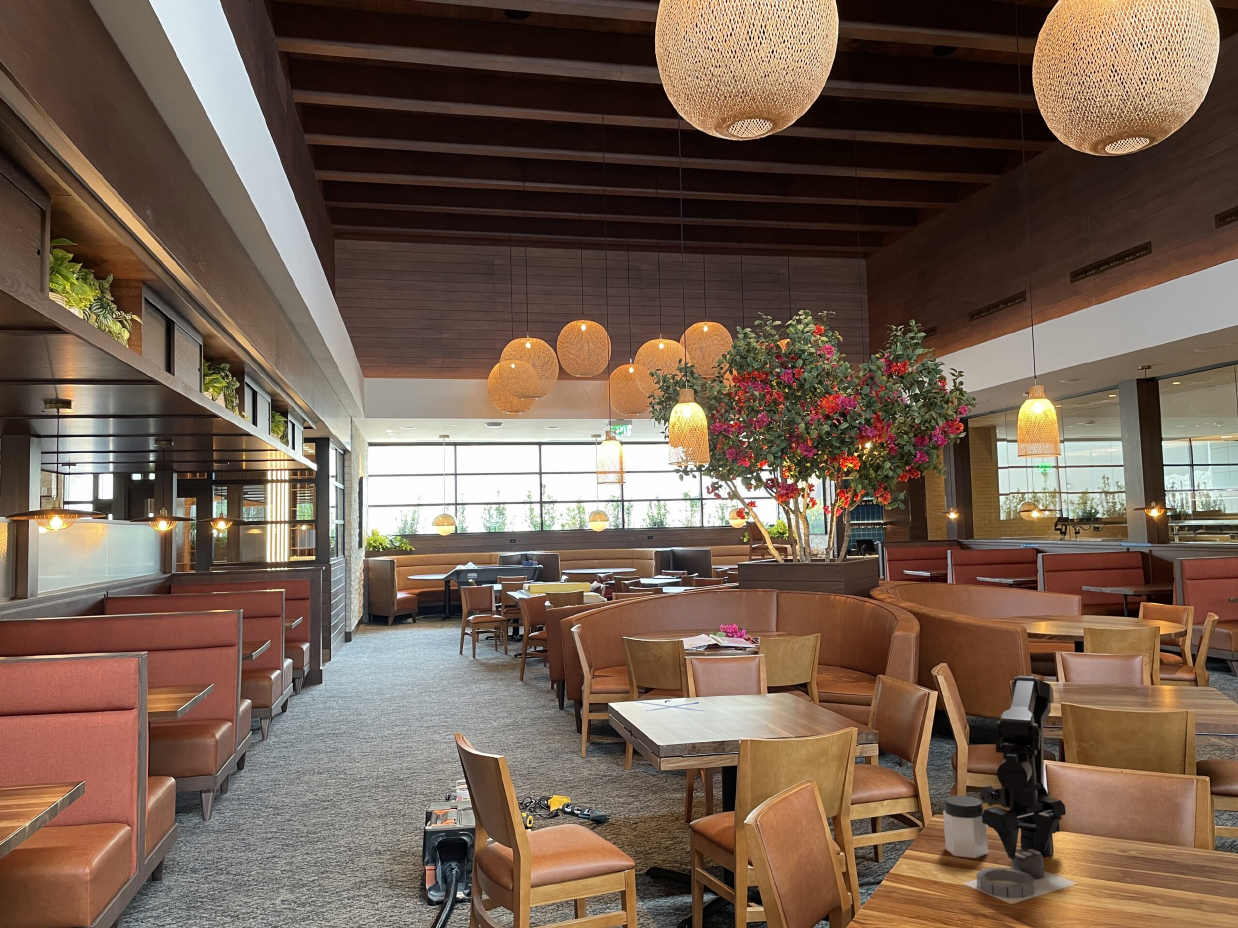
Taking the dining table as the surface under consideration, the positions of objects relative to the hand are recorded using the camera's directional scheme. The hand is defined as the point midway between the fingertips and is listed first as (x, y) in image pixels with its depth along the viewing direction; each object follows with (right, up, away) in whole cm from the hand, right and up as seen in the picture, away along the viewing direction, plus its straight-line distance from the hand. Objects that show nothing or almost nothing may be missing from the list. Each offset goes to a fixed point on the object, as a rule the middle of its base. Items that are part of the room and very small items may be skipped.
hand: (1027, 854), depth 187 cm
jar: (-7, -7, +14) cm, 17 cm away
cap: (0, -4, 0) cm, 4 cm away
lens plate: (-4, -5, -5) cm, 8 cm away
